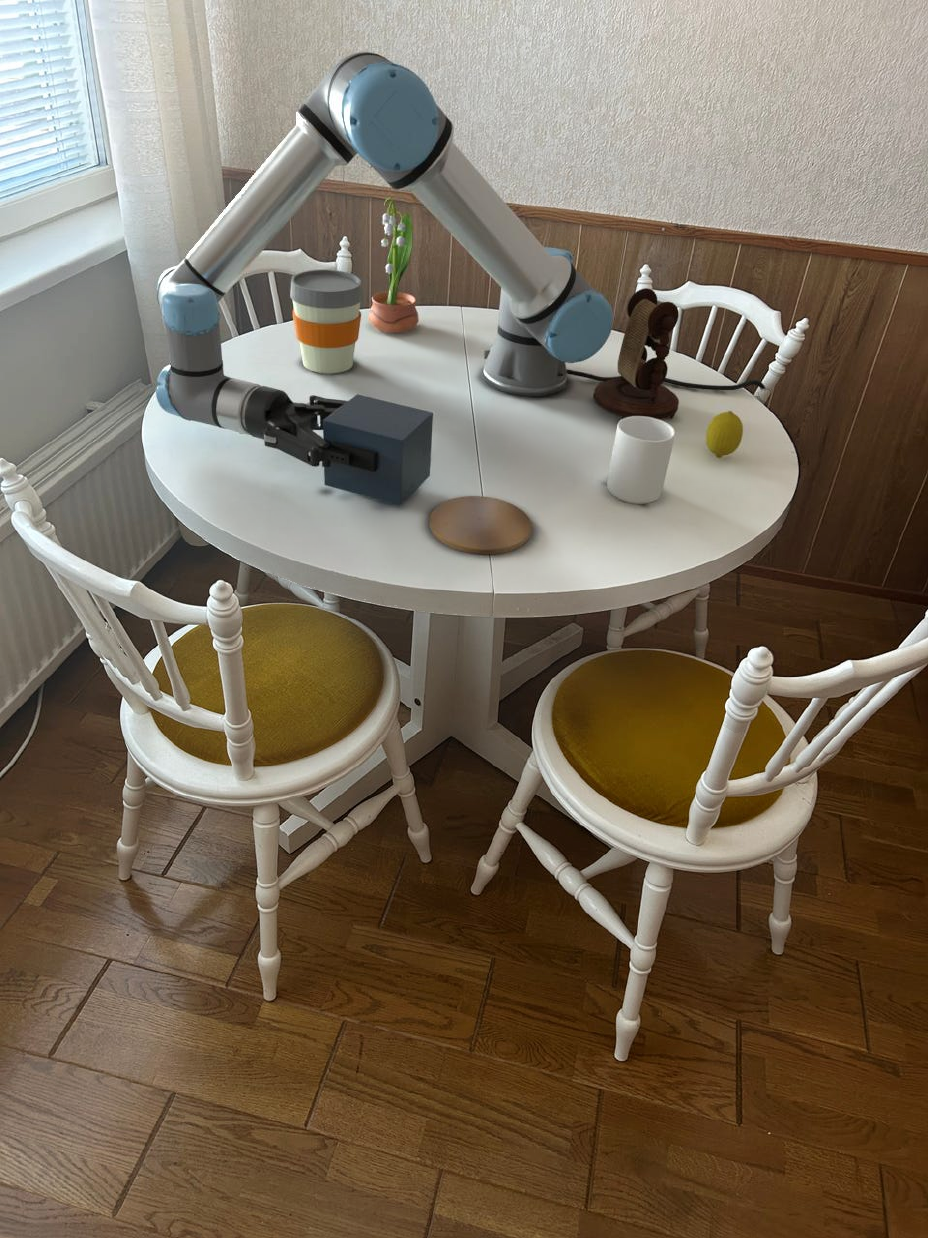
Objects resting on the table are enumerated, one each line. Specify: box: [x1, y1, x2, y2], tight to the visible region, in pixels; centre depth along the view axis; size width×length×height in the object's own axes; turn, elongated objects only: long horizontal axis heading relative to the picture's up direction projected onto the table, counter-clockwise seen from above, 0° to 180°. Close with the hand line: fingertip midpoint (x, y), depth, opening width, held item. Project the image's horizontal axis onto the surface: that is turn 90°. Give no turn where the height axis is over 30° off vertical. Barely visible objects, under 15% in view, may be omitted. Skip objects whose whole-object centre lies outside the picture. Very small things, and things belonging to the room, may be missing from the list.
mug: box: [606, 416, 676, 505], centre depth 136 cm, size 12×8×10 cm
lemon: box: [705, 410, 744, 459], centre depth 147 cm, size 6×6×8 cm
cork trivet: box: [429, 495, 532, 555], centre depth 127 cm, size 14×14×1 cm
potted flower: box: [368, 196, 419, 334], centre depth 177 cm, size 12×10×25 cm
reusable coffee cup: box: [289, 269, 363, 374], centre depth 164 cm, size 13×12×15 cm
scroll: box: [592, 287, 680, 420], centre depth 156 cm, size 15×15×20 cm
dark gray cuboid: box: [322, 393, 434, 507], centre depth 130 cm, size 12×10×10 cm
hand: (393, 446), depth 129 cm, fingers closed on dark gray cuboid, 10 cm apart
